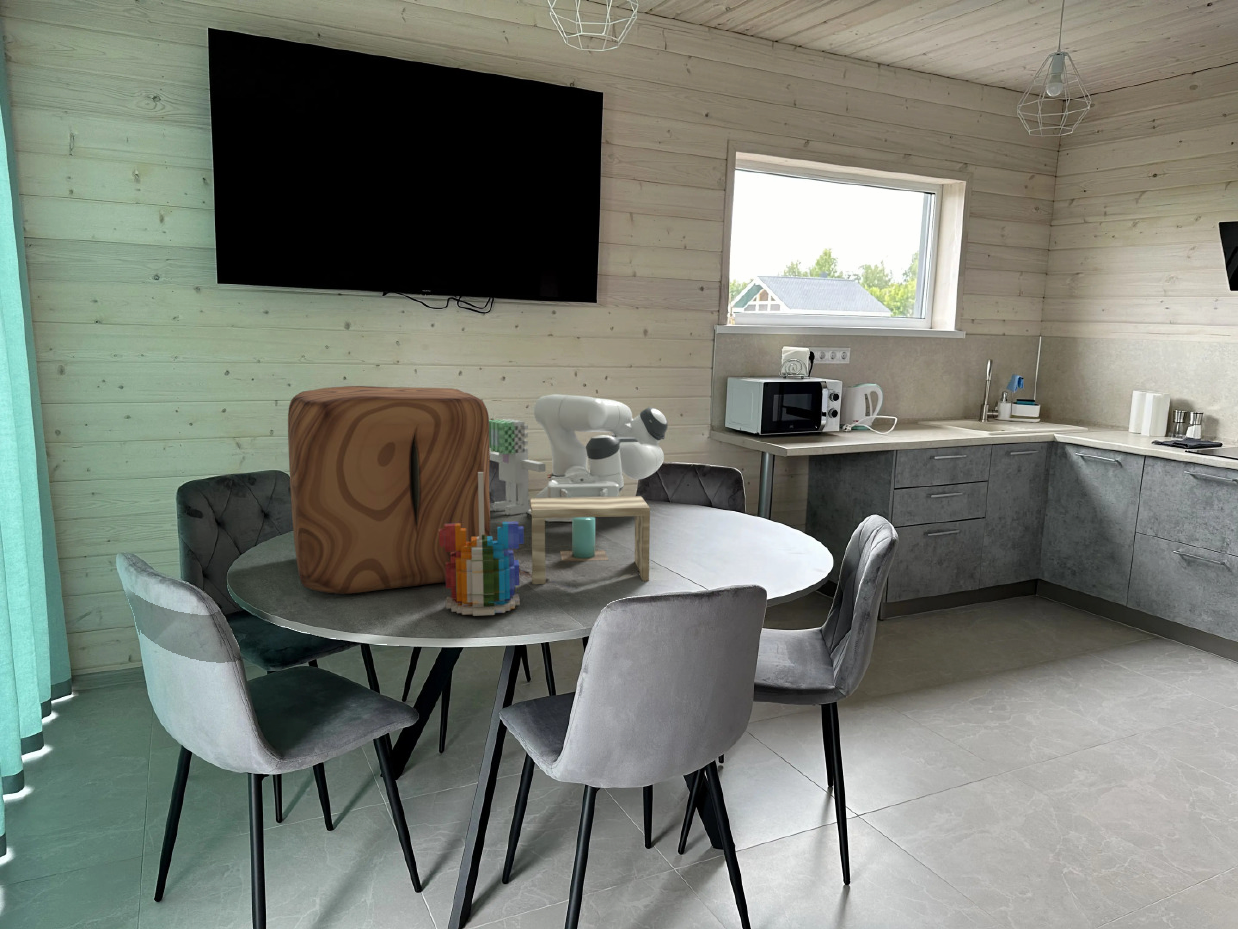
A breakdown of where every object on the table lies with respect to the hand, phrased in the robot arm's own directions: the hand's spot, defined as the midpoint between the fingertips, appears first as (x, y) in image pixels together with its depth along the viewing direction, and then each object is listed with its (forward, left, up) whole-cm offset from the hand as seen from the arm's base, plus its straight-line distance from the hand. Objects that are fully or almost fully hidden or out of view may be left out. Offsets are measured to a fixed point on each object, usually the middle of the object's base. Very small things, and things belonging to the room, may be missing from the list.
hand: (585, 495), depth 240 cm
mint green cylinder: (+9, -8, -14) cm, 18 cm away
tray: (+9, -8, -15) cm, 19 cm away
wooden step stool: (+20, -16, -15) cm, 30 cm away
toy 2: (-52, +11, -15) cm, 56 cm away
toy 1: (+25, -51, -15) cm, 58 cm away
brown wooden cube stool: (-16, -51, -15) cm, 55 cm away
